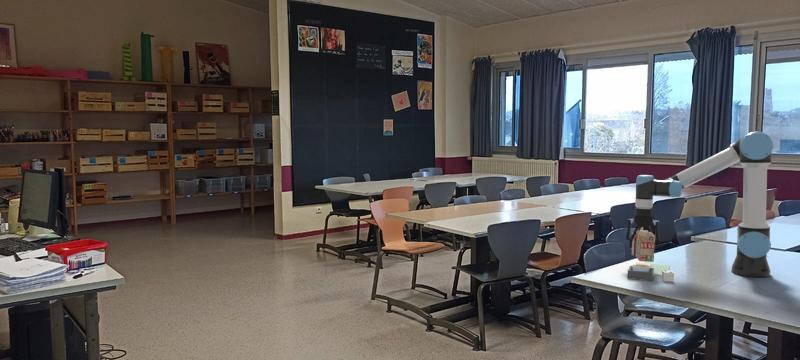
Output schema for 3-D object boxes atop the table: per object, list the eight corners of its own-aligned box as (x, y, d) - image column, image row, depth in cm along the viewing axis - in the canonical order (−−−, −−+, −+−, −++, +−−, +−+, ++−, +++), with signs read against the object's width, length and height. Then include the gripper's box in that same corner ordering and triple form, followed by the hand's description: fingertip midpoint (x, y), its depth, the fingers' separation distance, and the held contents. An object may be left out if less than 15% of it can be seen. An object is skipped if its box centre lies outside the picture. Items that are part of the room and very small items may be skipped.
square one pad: (669, 266, 274) (669, 265, 274) (667, 276, 254) (667, 275, 254) (653, 264, 277) (653, 264, 277) (650, 274, 258) (650, 273, 257)
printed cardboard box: (630, 251, 280) (631, 226, 279) (644, 251, 279) (645, 227, 277) (639, 261, 259) (640, 234, 258) (654, 262, 258) (655, 235, 257)
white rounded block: (649, 274, 254) (650, 265, 254) (648, 278, 248) (649, 268, 248) (633, 272, 258) (633, 263, 257) (631, 276, 251) (631, 266, 251)
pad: (651, 264, 277) (651, 263, 277) (648, 274, 258) (648, 273, 258) (636, 263, 281) (636, 262, 281) (631, 272, 261) (631, 271, 261)
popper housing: (653, 275, 255) (653, 268, 255) (652, 280, 246) (652, 272, 246) (629, 273, 260) (630, 265, 259) (627, 278, 251) (627, 270, 251)
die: (671, 279, 248) (671, 270, 248) (673, 282, 245) (674, 272, 244) (661, 279, 249) (662, 269, 249) (663, 281, 246) (664, 272, 245)
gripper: (667, 208, 266) (665, 256, 268) (621, 205, 275) (620, 252, 277) (666, 210, 259) (664, 259, 261) (620, 207, 268) (618, 254, 270)
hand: (641, 255), depth 269 cm, fingers closed on printed cardboard box, 7 cm apart
